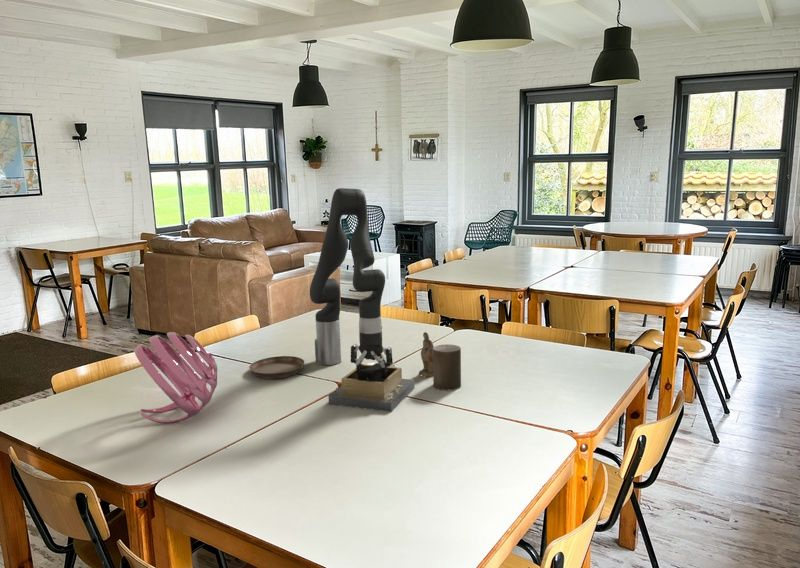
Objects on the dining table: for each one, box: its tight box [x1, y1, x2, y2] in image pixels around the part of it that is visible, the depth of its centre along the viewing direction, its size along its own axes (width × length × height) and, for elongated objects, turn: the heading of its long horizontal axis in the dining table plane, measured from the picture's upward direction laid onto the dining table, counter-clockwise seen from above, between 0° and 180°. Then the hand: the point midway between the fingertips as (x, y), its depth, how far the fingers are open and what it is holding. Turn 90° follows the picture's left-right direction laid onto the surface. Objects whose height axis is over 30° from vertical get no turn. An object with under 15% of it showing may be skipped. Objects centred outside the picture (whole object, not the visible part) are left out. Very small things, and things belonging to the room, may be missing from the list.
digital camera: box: [358, 362, 388, 382], centre depth 212 cm, size 10×5×7 cm, turn 152°
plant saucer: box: [248, 355, 305, 380], centre depth 240 cm, size 21×21×3 cm
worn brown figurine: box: [418, 331, 435, 378], centre depth 233 cm, size 12×6×18 cm, turn 131°
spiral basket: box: [133, 331, 218, 424], centre depth 198 cm, size 28×28×27 cm
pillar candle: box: [432, 343, 462, 391], centre depth 219 cm, size 10×10×15 cm
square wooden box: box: [327, 363, 416, 413], centre depth 212 cm, size 22×22×8 cm
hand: (371, 376), depth 211 cm, fingers open, 8 cm apart
